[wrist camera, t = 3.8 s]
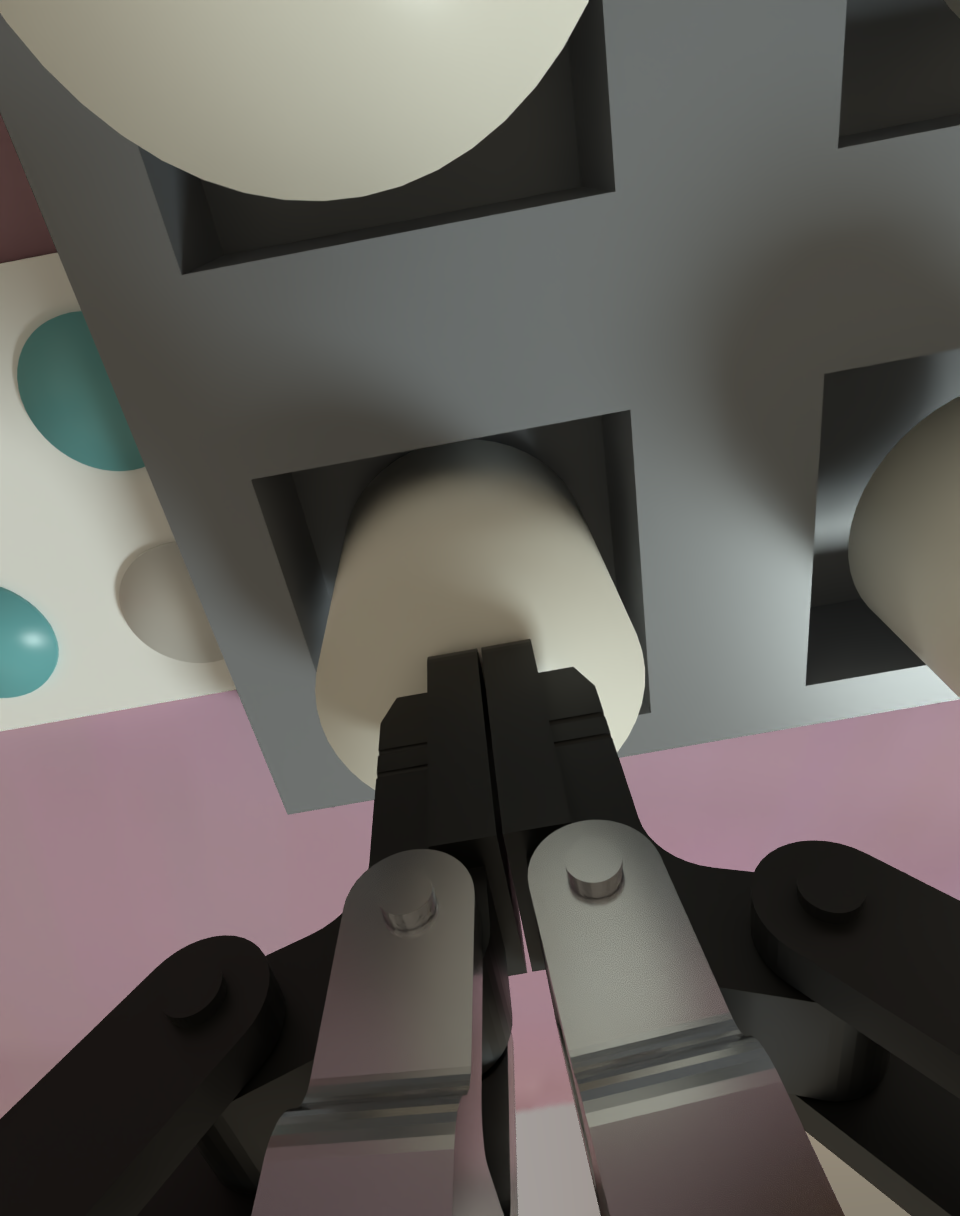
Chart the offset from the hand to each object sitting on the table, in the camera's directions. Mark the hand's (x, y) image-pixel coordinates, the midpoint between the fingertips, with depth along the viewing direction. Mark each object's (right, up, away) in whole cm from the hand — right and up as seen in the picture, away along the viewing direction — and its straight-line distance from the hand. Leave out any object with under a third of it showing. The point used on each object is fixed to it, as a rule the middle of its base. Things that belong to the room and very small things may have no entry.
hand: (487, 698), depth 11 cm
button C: (0, +2, +4) cm, 5 cm away
